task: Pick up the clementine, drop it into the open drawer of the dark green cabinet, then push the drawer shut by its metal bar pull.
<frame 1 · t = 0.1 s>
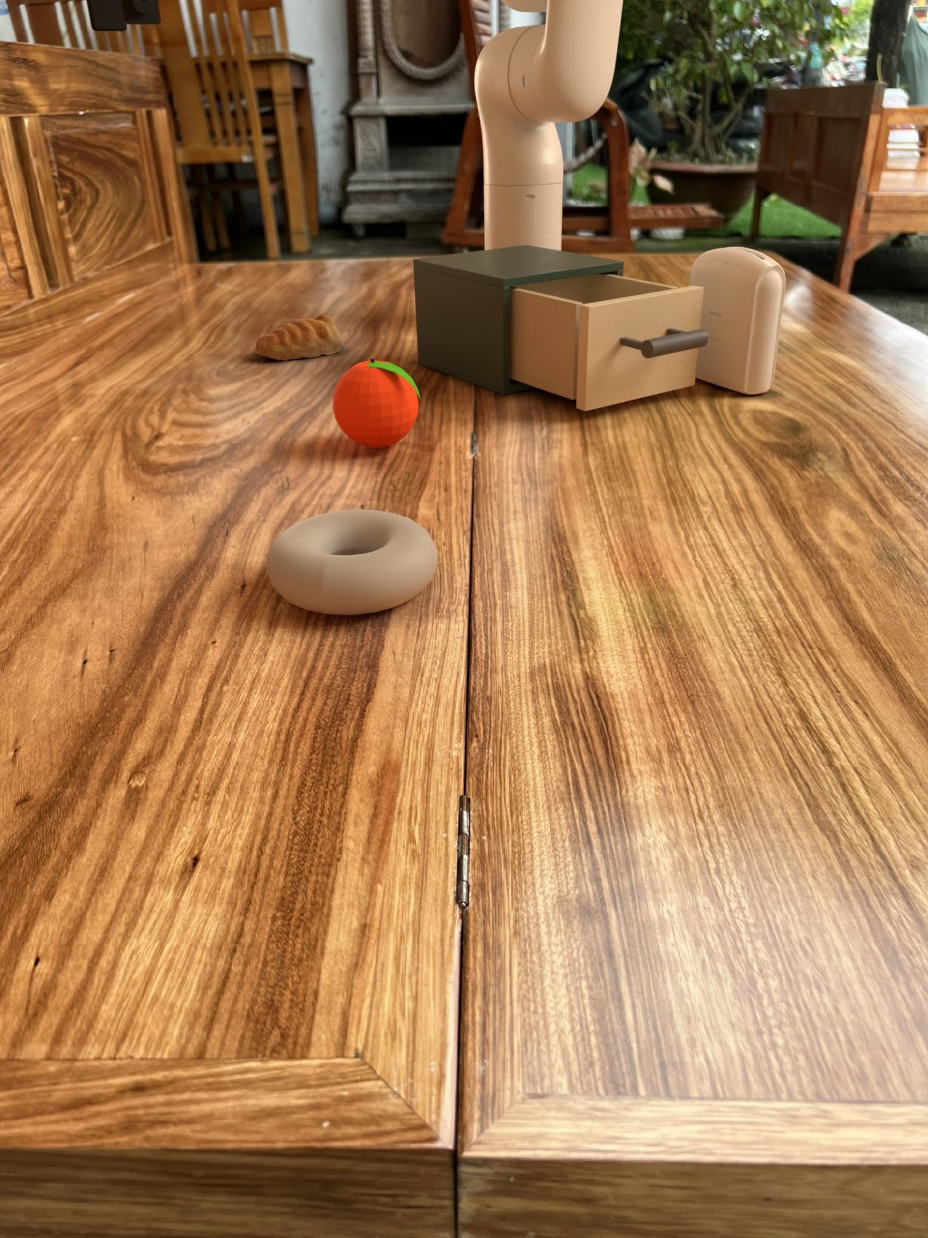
hand: (125, 27, 86), 31 cm above the table, tool pointing down, fingers open, 9 cm apart
donut: (355, 588, 57), on the table
pastry: (303, 354, 108), on the table
drawer: (606, 338, 88), point 5 cm above the table, slide at 10.0 cm
clementine: (383, 449, 79), on the table
cabinet: (515, 366, 101), on the table
photo printer: (725, 384, 93), on the table
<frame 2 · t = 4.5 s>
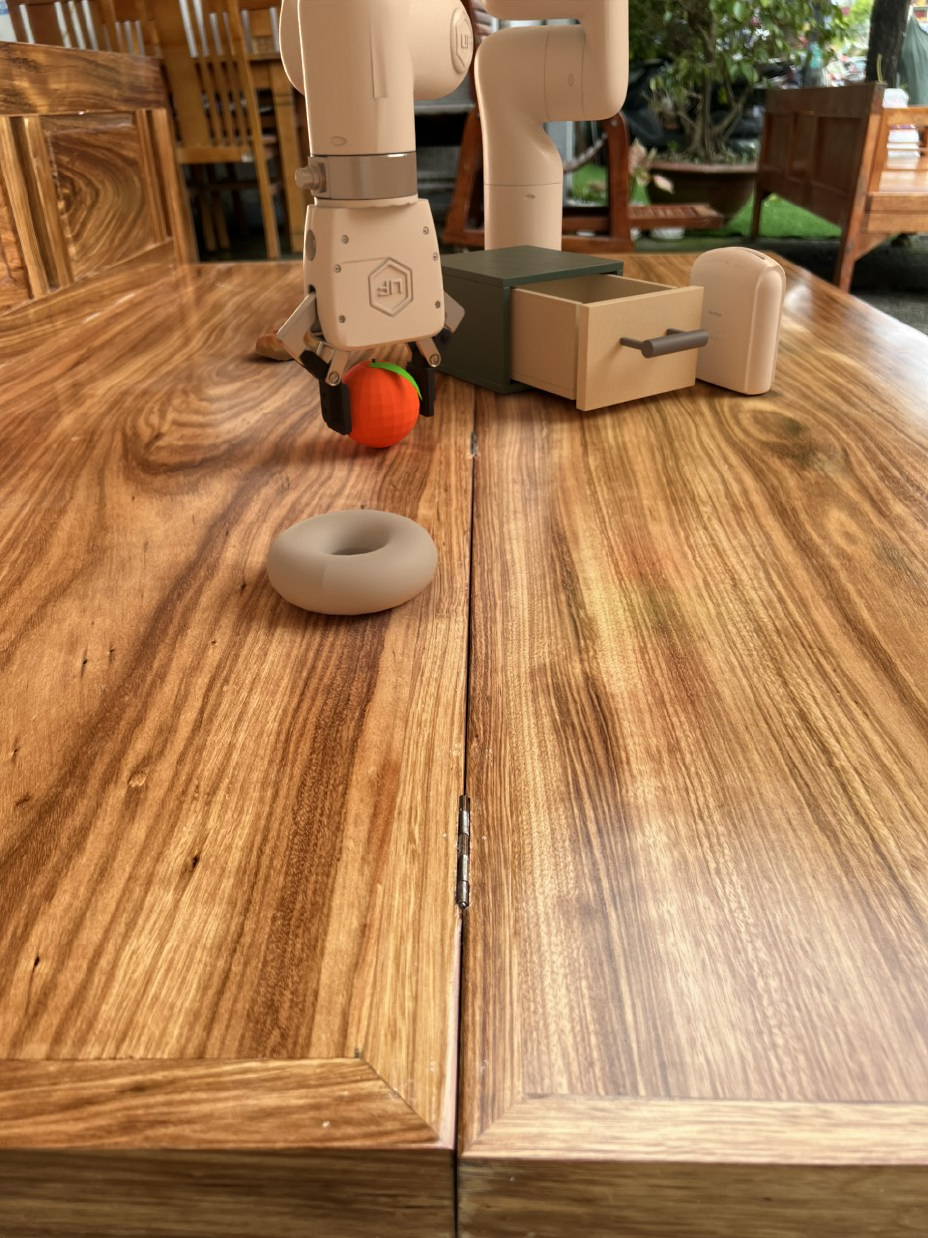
hand: (381, 420, 78), 2 cm above the table, tool pointing down, fingers closed on clementine, 7 cm apart
clementine: (384, 448, 79), on the table, touching gripper
everything else where it was.
when the fingers open (13 cm above the table, at t = 11.1 s): clementine drops 7 cm, resting on drawer.
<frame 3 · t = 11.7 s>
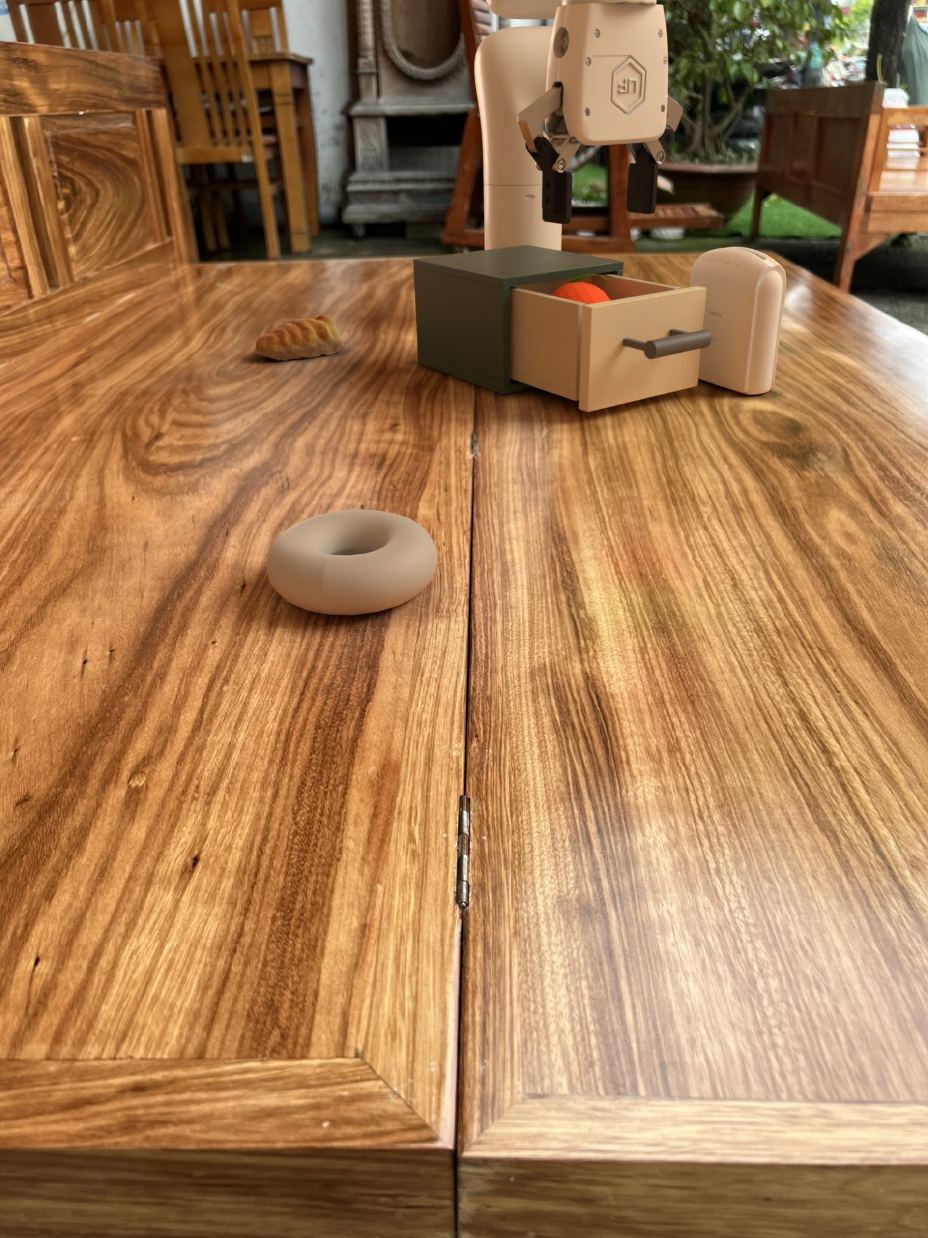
hand: (599, 217, 84), 15 cm above the table, tool pointing down, fingers open, 9 cm apart
drawer: (608, 338, 88), point 5 cm above the table, slide at 10.3 cm, touching clementine
clementine: (599, 349, 90), point 4 cm above the table, touching drawer
everything else where it was.
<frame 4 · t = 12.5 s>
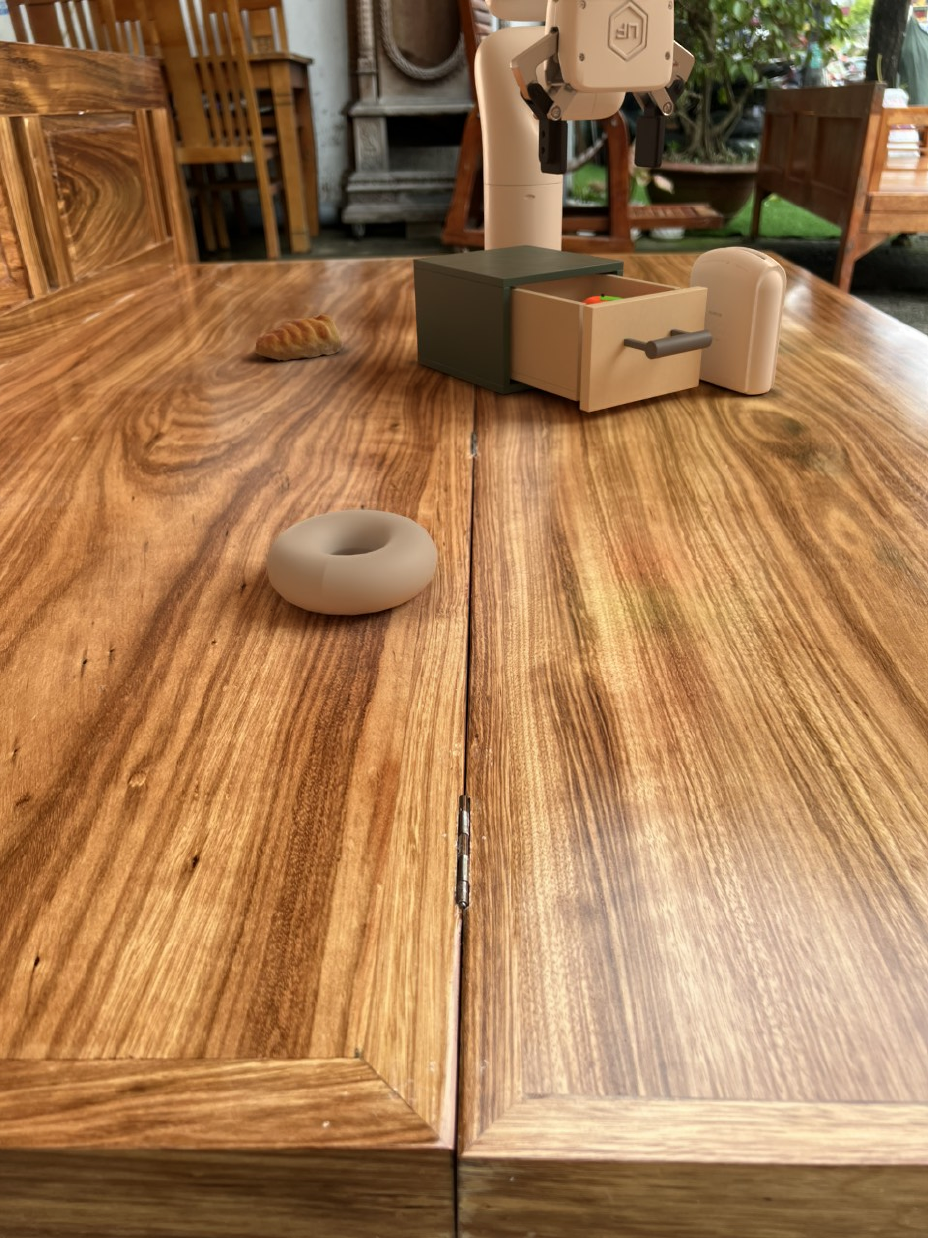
hand: (601, 170, 82), 19 cm above the table, tool pointing down, fingers open, 9 cm apart
drawer: (609, 339, 88), point 5 cm above the table, slide at 10.5 cm
clementine: (604, 374, 90), point 2 cm above the table
everything else where it was.
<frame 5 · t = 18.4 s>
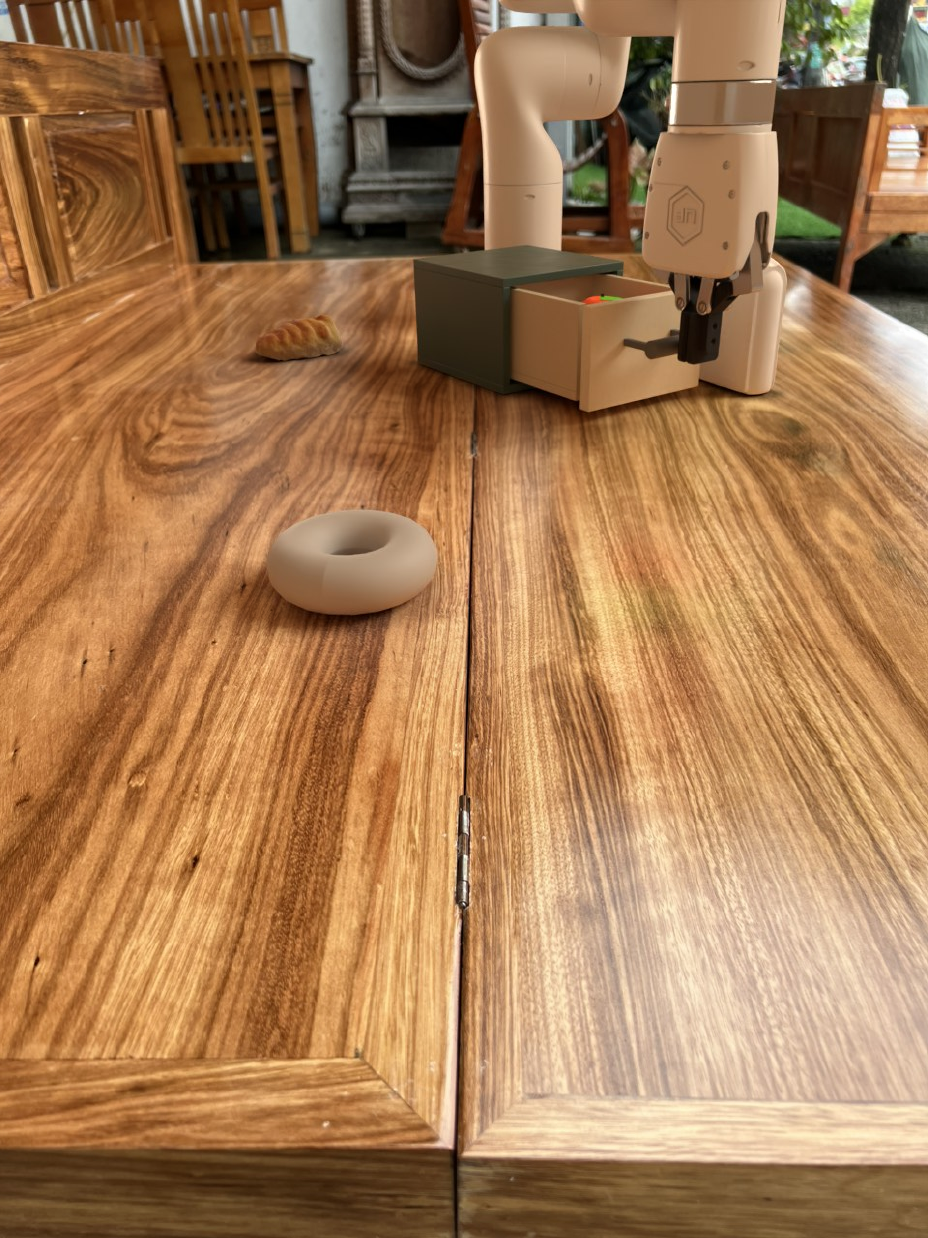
hand: (697, 359, 79), 5 cm above the table, tool pointing down, fingers closed
drawer: (609, 339, 88), point 5 cm above the table, slide at 10.4 cm, touching clementine, gripper
clementine: (604, 374, 90), point 2 cm above the table, touching drawer
everything else where it was.
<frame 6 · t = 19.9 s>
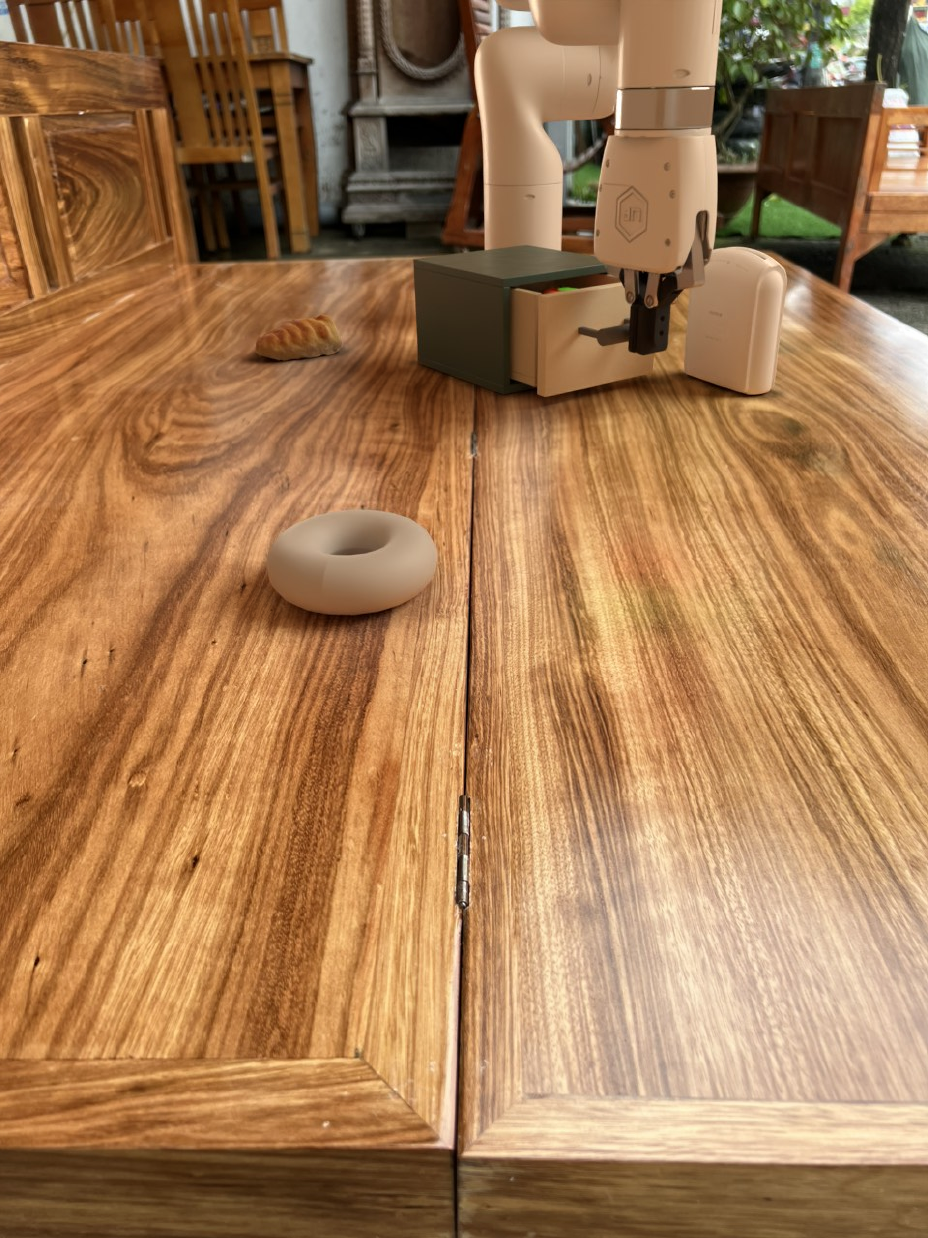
hand: (647, 350, 84), 5 cm above the table, tool pointing down, fingers closed
drawer: (567, 328, 92), point 5 cm above the table, slide at 4.4 cm, touching clementine, gripper
clementine: (563, 362, 94), point 2 cm above the table, touching drawer
everything else where it was.
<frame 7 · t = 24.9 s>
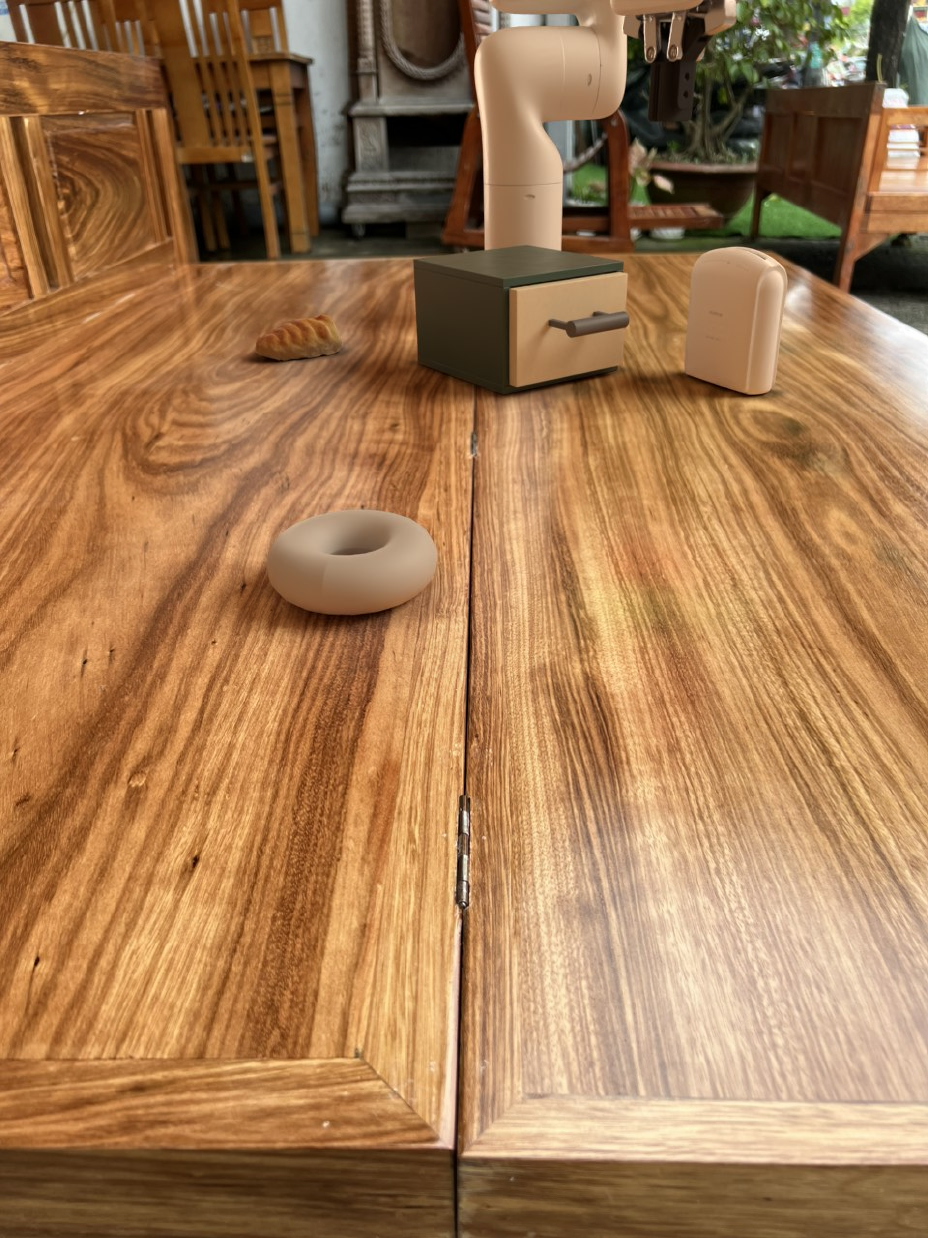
hand: (669, 120, 75), 23 cm above the table, tool pointing down, fingers closed
drawer: (540, 320, 95), point 5 cm above the table, slide at 0.1 cm, touching clementine
clementine: (537, 354, 97), point 2 cm above the table, touching drawer
everything else where it was.
at the end: clementine inside the target area in the cabinet (3.0 cm from its centre), point 1.8 cm above the cabinet's base; drawer slide at 0.1 cm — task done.
